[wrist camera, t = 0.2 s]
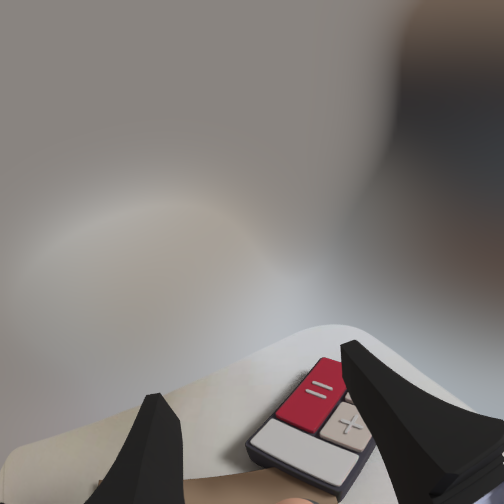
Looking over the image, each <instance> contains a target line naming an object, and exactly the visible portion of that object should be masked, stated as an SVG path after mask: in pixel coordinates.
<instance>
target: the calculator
mask: <svg viewBox="0 0 504 504" xmlns="http://www.w3.org/2000/svg"><path fill="white" fill-rule="evenodd" d="M245 446H246V449H247V452H248V454H249V457H250V459H251V461H253V462H254V463H256V464H258V465H260V466H261V467H263V468H265V469H267V468H272V467H275V468H277V469H279V470H281V471H283V472H285V473H287V474H289V475H291V476H293V477H295V478H297V479H299V480H301V481H303V482H305V483H307V484H309V485H312V486H314V487H316V488H318V489H320V490H323V491H325V492H327V493H329V494H332V495H334V496H336V499H337V502H338V503H339V502H341V501H342V499H343V498H344V497H345V495H346V494H347V492H348V491H349V489H350V488H351V486H352V485H353V483H354V482H355V480H356V478H357V477H358V475H359V474H360V472H361V470H362V468H363V467H364V465H365V463H366V462H367V460H368V458H369V457H370V455H371V453H372V452H373V450H374V448H375V446H376V443H375V441H374V439H373V437H372V435H371V433H370V432H369V430H368V428H367V426H366V424H365V423H364V421H363V419H362V417H361V416H360V414H359V412H358V410H357V408H356V407H355V405H354V403H353V401H352V399H351V397H350V395H349V393H348V390H347V388H346V385H345V383H344V380H343V378H342V363H341V362H338V361H335V360H332V359H328V358H325V357H323V358H320V359H319V361H318V362H317V363H316V364H315V366H314V367H313V368H312V369H311V370H310V372H309V373H308V374H307V375H306V376H305V378H304V379H303V380H302V381H301V382H300V384H299V385H298V386H297V387H296V388H295V389H294V391H293V392H292V393H291V394H290V395H289V396H288V397H287V399H286V400H285V401H284V402H283V403H282V404H281V405H280V406H279V408H278V409H277V410H276V411H275V412H274V413H273V414H272V415H271V416H270V417H269V418H268V420H267V421H266V422H265V423H264V424H263V425H262V426H261V427H260V428H259V429H258V430H257V431H256V432H255V433H254V434H253V435H252V436H251V437H250V438H249V439H248V440H247V442H246V443H245Z"/></svg>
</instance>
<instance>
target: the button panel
mask: <svg viewBox="0 0 504 504" xmlns="http://www.w3.org/2000/svg"><path fill="white" fill-rule="evenodd" d="M102 481H103V480H99V484H98V486H99V485H100V483H101V482H102ZM183 489H184V499H185V504H276V503H278V502H280V501H282V500H285V499H289V498H302V499H305V500H308V501H310V502H312V503H313V504H338V502H337V499H336V496H334V495H332V494H329V493H327V492H325V491H323V490H320V489H318V488H316V487H314V486H312V485H309V484H307V483H305V482H303V481H301V480H299V479H297V478H295V477H293V476H291V475H289V474H287V473H285V472H283V471H281V470H279V469H277V468H275V467H272V468H267V469H262V470H257V471H251V472H245V473H239V474H233V475H225V476H218V477H209V478H199V479H188V480H183Z"/></svg>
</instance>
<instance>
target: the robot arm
mask: <svg viewBox="0 0 504 504" xmlns="http://www.w3.org/2000/svg"><path fill="white" fill-rule="evenodd" d="M340 346H341V363H342V378H343V380H344V383H345V385H346V388H347V390H348V393H349V395H350V397H351V399H352V401H353V403H354V405H355V407H356V408H357V410H358V412H359V414H360V416H361V417H362V419H363V421H364V423H365V424H366V426H367V428H368V430H369V432H370V433H371V435H372V437H373V439H374V441H375V443H376V445H377V447H378V449H379V451H380V454H381V456H382V459H383V461H384V464H385V466H386V469H387V471H388V474H389V477H390V479H391V482H392V485H393V488H394V491H395V494H396V497H397V500H398V503H399V504H504V464H503V462H504V457H503V455H502V453H503V452H504V421H503V420H501V419H496V418H491V417H487V416H484V415H480V414H477V413H473V412H470V411H467V410H465V409H462V408H459V407H457V406H454V405H452V404H449V403H447V402H445V401H443V400H441V399H438V398H436V397H434V396H432V395H431V394H429V393H427V392H425V391H423V390H422V389H420V388H418V387H417V386H415V385H413V384H412V383H410V382H409V381H407V380H406V379H404V378H403V377H401V376H400V375H398V374H397V373H396V372H394V371H393V370H392V369H390V368H389V367H388V366H386V365H385V364H384V363H383V362H381V361H380V360H379V359H378V358H376V357H375V356H374V355H373V354H372V353H370V352H369V351H368V350H367V349H366V348H365V347H364V346H363V345H361V344H360V343H359V342H358V341H357V340H352V341H350V342H347V343H344V344H341V345H340ZM84 504H185V499H184V489H183V440H182V432H181V425H180V420H179V418H178V417H177V416H176V414H175V413H174V412H173V410H172V409H171V407H170V406H169V405H168V403H167V402H166V401H165V399H164V398H163V396H162V395H161V394H160V393H157V394H150V395H146V397H145V399H144V401H143V403H142V405H141V408H140V410H139V412H138V415H137V417H136V419H135V421H134V424H133V426H132V428H131V430H130V432H129V434H128V437H127V439H126V441H125V443H124V445H123V447H122V449H121V451H120V452H119V454H118V456H117V458H116V460H115V462H114V463H113V465H112V467H111V468H110V470H109V472H108V473H107V475H106V476H105V478H104V479H103V481H102V482H101V483H100V485H99V486H98V487H97V489H96V490H95V491H94V493H93V494H92V495H91V496H90V497H89V499H88V500H87V501H86V502H85V503H84Z"/></svg>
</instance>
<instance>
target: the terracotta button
mask: <svg viewBox="0 0 504 504" xmlns="http://www.w3.org/2000/svg"><path fill="white" fill-rule="evenodd" d="M276 504H313V503H312V502H310V501H308V500H305V499H302V498H289V499H285V500H282V501H280V502H278V503H276Z"/></svg>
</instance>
